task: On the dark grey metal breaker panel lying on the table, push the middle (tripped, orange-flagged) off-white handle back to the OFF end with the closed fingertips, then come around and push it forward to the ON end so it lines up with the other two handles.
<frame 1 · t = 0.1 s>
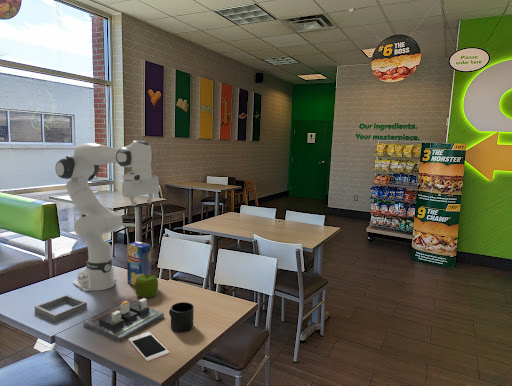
hand: (141, 204, 167), 48 cm above the table, fingers open, 8 cm apart
tripped breaker: (125, 307, 151), point 7 cm above the table, slide at 0.0 cm
beverage box: (139, 283, 193), on the table
panel: (125, 321, 152), on the table
apple: (146, 295, 178), on the table
mug: (179, 326, 150), on the table
deck corral: (61, 310, 159), on the table
cell phone: (148, 347, 135), on the table
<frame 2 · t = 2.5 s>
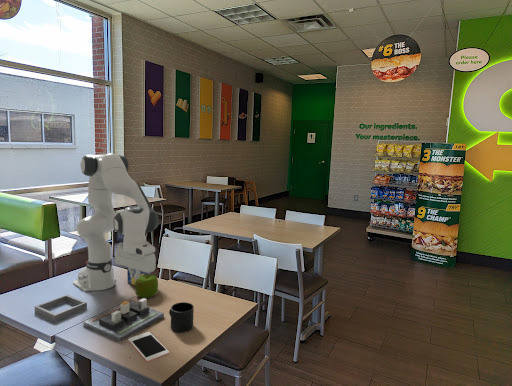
hand: (134, 278, 146), 21 cm above the table, fingers closed
nothing on the table moved.
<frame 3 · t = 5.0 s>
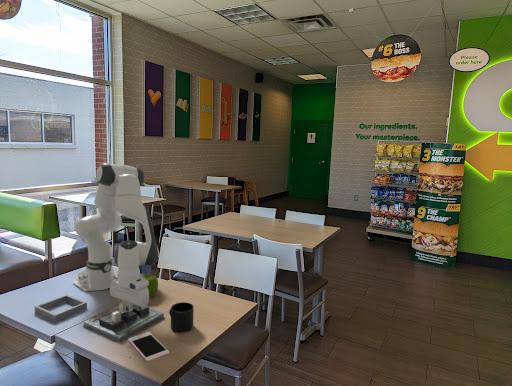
hand: (128, 310, 150), 6 cm above the table, fingers closed
tripped breaker: (123, 306, 151), point 7 cm above the table, slide at -0.8 cm, touching gripper
everything else where it was.
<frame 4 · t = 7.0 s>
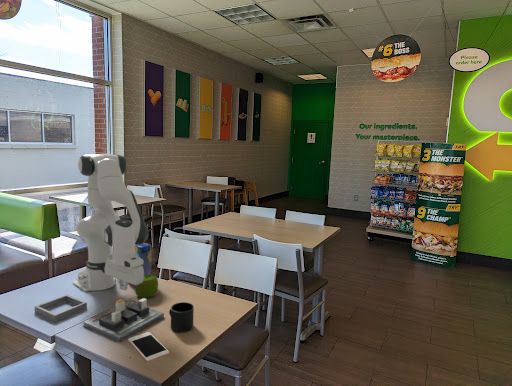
hand: (123, 289, 150), 14 cm above the table, fingers closed
tripped breaker: (120, 305, 152), point 7 cm above the table, slide at -3.1 cm
everything else where it was.
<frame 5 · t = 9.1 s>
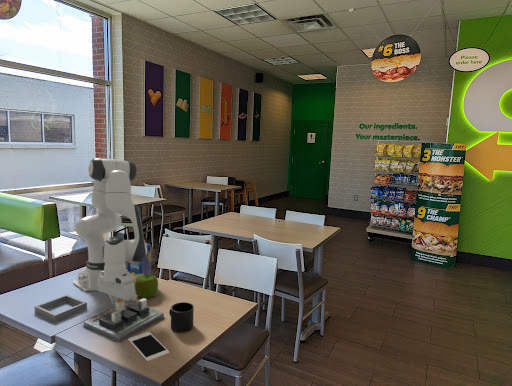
hand: (115, 304, 154), 6 cm above the table, fingers closed
tripped breaker: (120, 305, 152), point 7 cm above the table, slide at -3.1 cm, touching gripper
everything else where it was.
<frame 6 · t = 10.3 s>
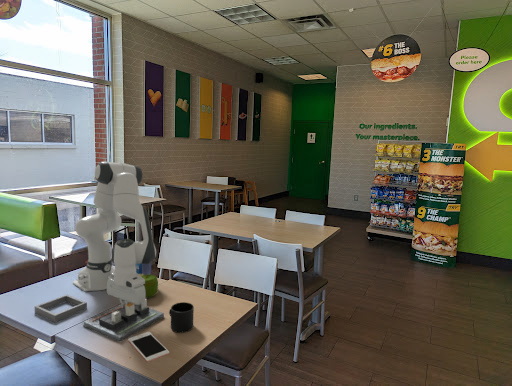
hand: (125, 308, 151), 6 cm above the table, fingers closed
tripped breaker: (130, 309, 149), point 7 cm above the table, slide at 3.1 cm, touching gripper
everything else where it was.
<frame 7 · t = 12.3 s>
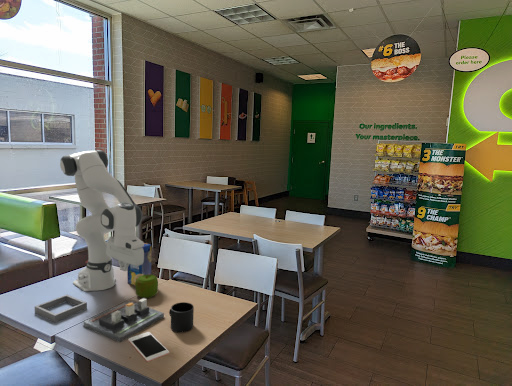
hand: (123, 270, 156), 21 cm above the table, fingers closed
tripped breaker: (130, 309, 149), point 7 cm above the table, slide at 3.1 cm
everything else where it was.
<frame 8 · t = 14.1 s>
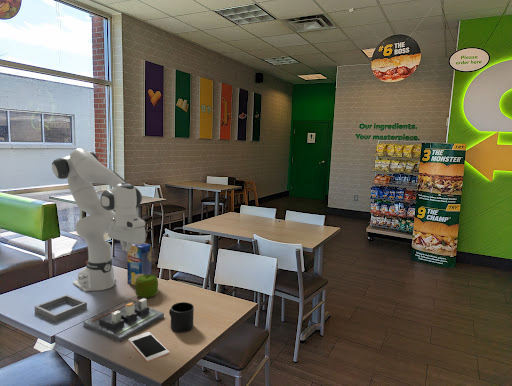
hand: (126, 250, 156), 29 cm above the table, fingers closed
nothing on the table moved.
at the end: tripped breaker slide at 3.1 cm; the gripper is holding nothing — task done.
